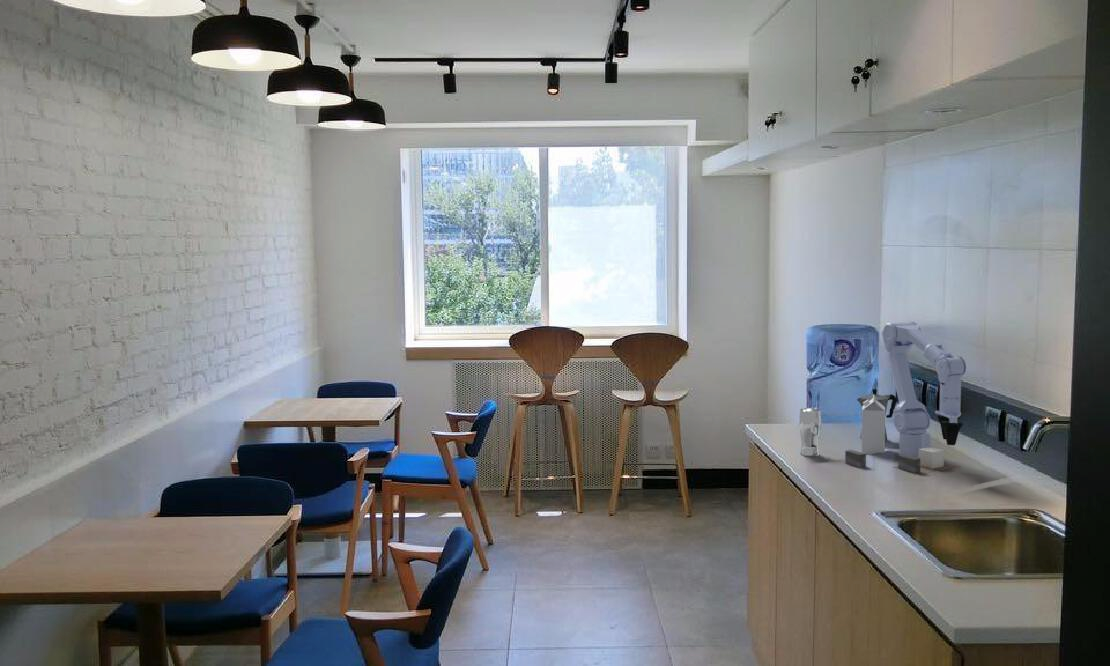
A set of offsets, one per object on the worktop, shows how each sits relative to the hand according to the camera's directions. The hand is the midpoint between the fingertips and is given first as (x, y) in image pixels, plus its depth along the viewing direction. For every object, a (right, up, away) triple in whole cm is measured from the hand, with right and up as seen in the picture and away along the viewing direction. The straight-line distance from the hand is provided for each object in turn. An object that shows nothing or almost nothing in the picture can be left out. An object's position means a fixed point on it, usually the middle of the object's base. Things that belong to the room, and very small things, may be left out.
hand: (949, 442), depth 268 cm
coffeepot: (-5, -5, +47) cm, 47 cm away
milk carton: (-13, -7, +27) cm, 31 cm away
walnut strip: (-5, -9, +4) cm, 11 cm away
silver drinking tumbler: (-34, -8, +27) cm, 44 cm away
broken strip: (-19, -9, +11) cm, 24 cm away
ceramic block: (-4, -8, +5) cm, 10 cm away
